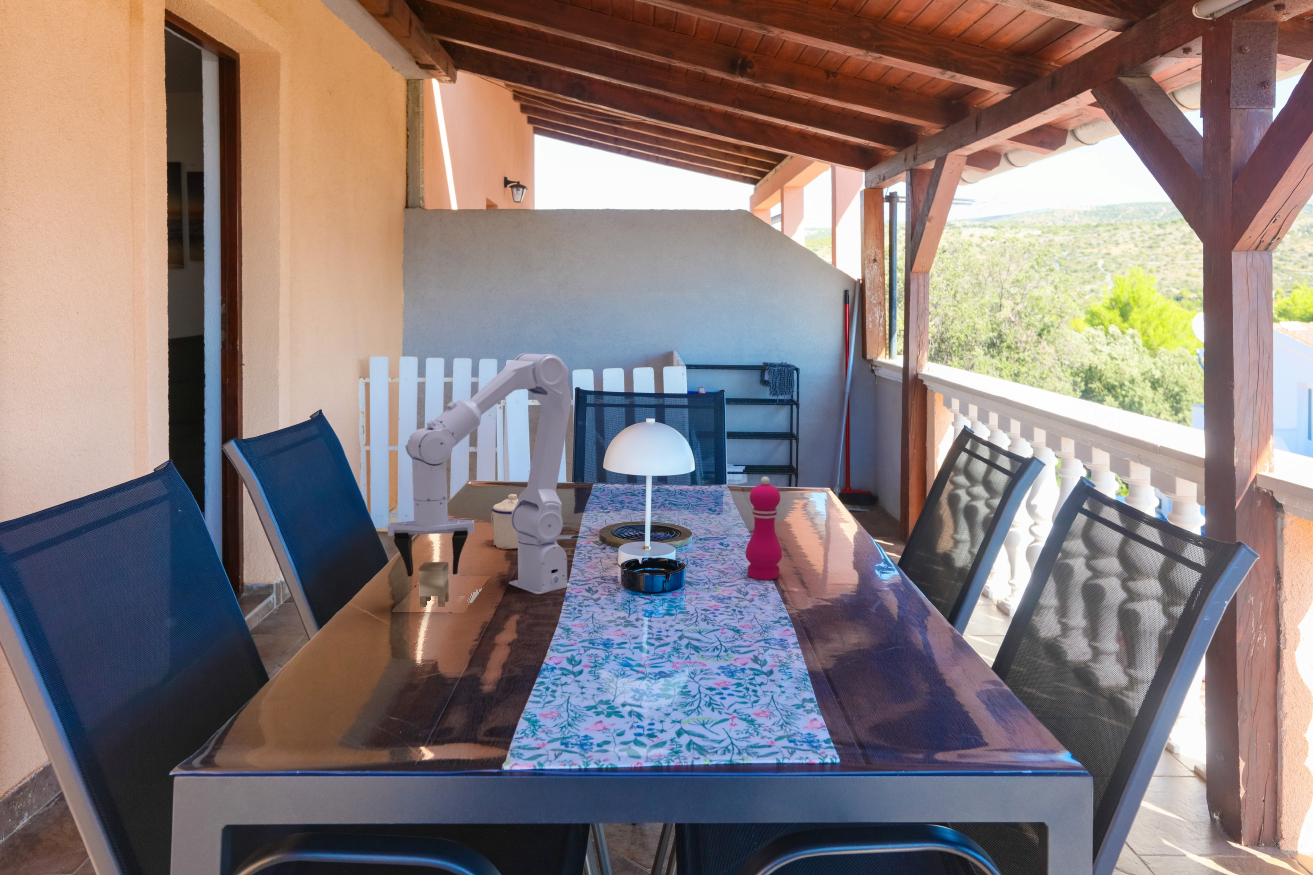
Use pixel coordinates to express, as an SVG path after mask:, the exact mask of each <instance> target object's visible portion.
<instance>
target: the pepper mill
mask: <svg viewBox="0 0 1313 875" xmlns="http://www.w3.org/2000/svg"><path fill="white" fill-rule="evenodd" d="M760 483H761V484H758V485H755V486H754V487H753V488H752V489H751V491H750V494H749V501H750V504H751V505H752V506H753V508H752V509H751V511H752V512H751V516H752V517H753V521H754V525H753V532H752V534H751V536H750V539H749V541H748V542H747V545H746V548H745V558H746V560H747V561H748V562H749V564H748V566H747V576H748V577H749V578H750V579H751V578H752V579H755V580H761V581H764V580H766V581H769V580H770V581H771V580H774V579H777V578H779V577H780V567H779V566H778V563H780V561H781V560H782V558H783V551H782V546H781V544H780V540H779V539H778V537H777V532H776V528H775V526H776V525H775V521H776V517H778V509H777V507H778V505H779V504H780V502H781V493H780V491H779V490H778V488H777V487H775V486H774V485H772V484H771V482H770V478H769V477H768V476H762V478H761V479H760Z"/></svg>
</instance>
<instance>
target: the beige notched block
mask: <svg viewBox="0 0 1313 875" xmlns="http://www.w3.org/2000/svg"><path fill="white" fill-rule="evenodd" d="M449 573H450V572H449V561H423V563H422V564H421V565H420V567H418V583H419V597H420V607H421V606H422V607H426V605H427V601H430V600H431V596H438V607H445V602H448V601H449V575H450V574H449Z"/></svg>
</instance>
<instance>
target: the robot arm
mask: <svg viewBox="0 0 1313 875" xmlns="http://www.w3.org/2000/svg"><path fill="white" fill-rule="evenodd" d="M569 370H570V369H569V368H568V366H567V365H566V364H565V363H564V361H563V360H562V359H561V358H560V357H559V356H558V355H556V354H553V353H547V354H542V353H541V354H539V353H531V352H523V353H521V354H519V355H517V356H516V357H515V359H513V360H512V359H511V361H509V362H507V364H506V365H505V366H504V368H503V369H502V370H501V371H500V372H499V373H497V374H496V375H495V376H494V377H493V378H492V379H491V380H490V381H488V382H487V383H486V385H484V386H483V387H482V388H480V390H478V392H477V393H476V394H475V395H473V396H472V397H471V398H470V399H469V400H467V401H466V400H457V401H450V402H449V403H448V404H446V407H447V409H446V410H444V412H442V413H441V414H439V416H437V417H436V418H435V419H434V420H432V419H430V420H428V421H427V422H426V428H418V429H416V430H415V431H413V432H412V433H411V434H410V435H409V439H408V440H407V444H405V445H404V448H405V451H406V454H407V455H408V456H409V457H410V459H411V462H412V463H411V467H412V497H413V498H412V499H413V520H409V521H400V522H389V523H388V525H387V536H388V537H394V539H393V543H394V545H395V547H396V548H397V549H398V552H399V554H400V556H401V557H402V560H403V563H404V566H405V569H406V573H407V577H409V578H410V577H412V576H413V575H414V561H413V548H412V546H413V535H431V534H433V535H434V534H436V535H437V534H453V535H452V537H451V542H452V543H451V544H452V545H451V546H452V557H453V558H452V575H458V572H459V562H460V559H461V554H462V551H463V548H464V546H465V544H466V541H467V539H468V535H469V534H474V533H475V520H473V519H470V520H469V519H468V520H467V519H449V511H448V509H449V508H448V506H449V505H448V479H447V478H448V476H447V461H448V460H449V459H450V457H451V456H452V453H453V448H454V447H456V446H457V445H458V444H459V443H460V442H462V441H463V440H464V439H466V437H467V436H469V435H470V434H471V433H472V432H474V431H475V430H476V429H477V428H478V427H479V426H480V425H481V419H482V415H484V414H485V413H486V412H487V411H489V410H490V409H492V408H493V407H495V406H496V405H497V404H498V403H500V402H501V401H503V399H505V398H507V396H509V395H510V394H512V393H513V392H515V391H516V390H517V391H519V390H528V391H529V393H532V395H533V397H534V398H535V399H536V401H537V402H538V403H539V404H540V411H539V412H540V413H539V416H538V423H537V429H536V433H535V440H534V445H533V446H534V448H533V453H532V457H531V463H530V469H529V475H528V480H527V486H526V488H524V490H522V491H521V492H520V493H519V496H518V502H517V505H516V506H515V508H514V509H513V511H512V514H511V524H512V527H513V528H514V530H515V531H517V538H518V550H517V574H518V575H517V578H518V579H515V580H512V581H509V582H508V584H509V585H511V586H514V587H516V588H520V589H522V590H525V591H527V592H530V593H533V594H535V595H541V594H544V593H548V592H552V591H556V590H560V589H564V588H568V587H571V583H569V582H568V556H567V552H566V550H565V549H564V548H563V547H561V546H560V545H559V544H558V537H559V536H560V535H561V533H562V530H563V526H564V521H563V515H562V508H563V507H562V506H563V503H562V501H561V499H560V498H559V495H558V493H557V487H558V481H559V475H560V469H561V463H562V460H563V459H562V458H563V452H564V446H565V440H566V435H567V431H568V423H569V419H570V413H571V408H572V394H571V390H570V385H569V382H568V380H569V379H568V378H569V373H570V371H569Z"/></svg>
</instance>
